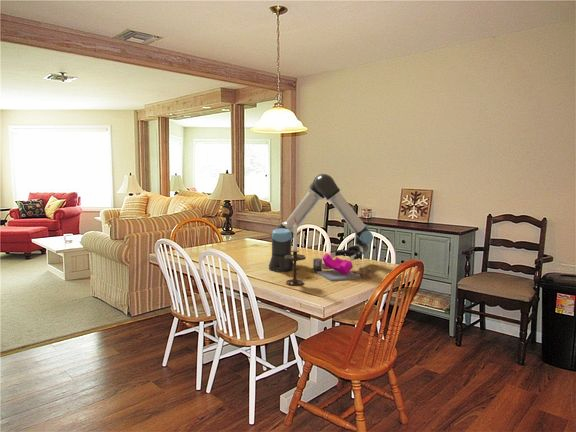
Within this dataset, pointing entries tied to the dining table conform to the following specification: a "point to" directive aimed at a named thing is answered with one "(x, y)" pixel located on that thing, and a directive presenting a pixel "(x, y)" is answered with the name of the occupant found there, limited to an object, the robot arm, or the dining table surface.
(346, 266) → the toy block
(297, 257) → the candlestick
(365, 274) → the walnut cube
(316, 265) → the metal peg
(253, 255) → the dining table surface
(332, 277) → the slate mat
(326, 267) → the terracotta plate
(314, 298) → the dining table surface
